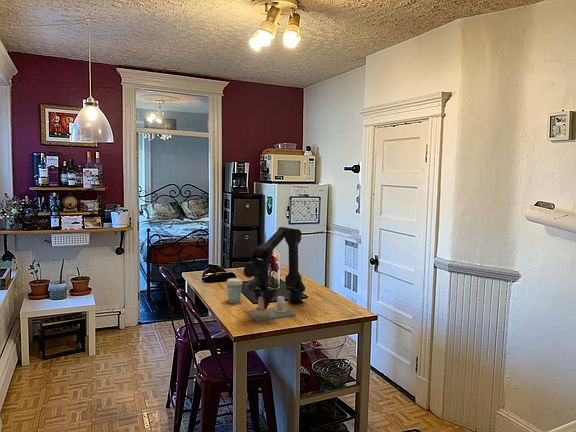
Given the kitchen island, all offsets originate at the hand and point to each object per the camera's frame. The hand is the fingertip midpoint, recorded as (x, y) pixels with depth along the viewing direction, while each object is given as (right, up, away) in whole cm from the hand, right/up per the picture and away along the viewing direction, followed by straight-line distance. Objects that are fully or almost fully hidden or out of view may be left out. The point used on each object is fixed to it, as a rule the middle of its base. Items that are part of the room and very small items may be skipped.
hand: (261, 305), depth 206 cm
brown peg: (0, -4, 0) cm, 4 cm away
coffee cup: (-16, -3, +21) cm, 26 cm away
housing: (+4, -5, +3) cm, 7 cm away
